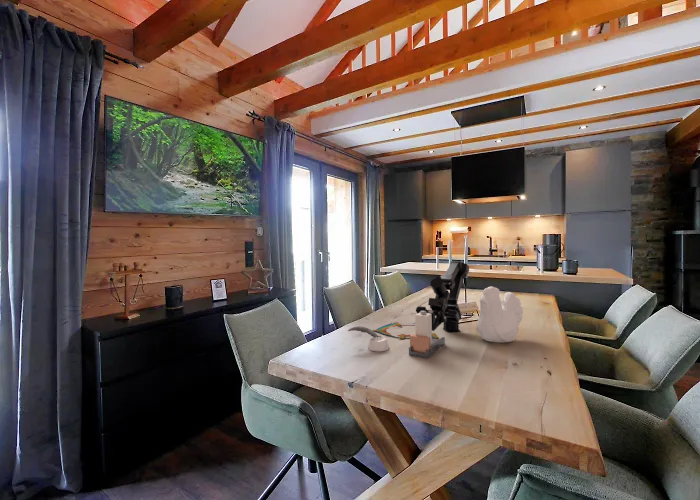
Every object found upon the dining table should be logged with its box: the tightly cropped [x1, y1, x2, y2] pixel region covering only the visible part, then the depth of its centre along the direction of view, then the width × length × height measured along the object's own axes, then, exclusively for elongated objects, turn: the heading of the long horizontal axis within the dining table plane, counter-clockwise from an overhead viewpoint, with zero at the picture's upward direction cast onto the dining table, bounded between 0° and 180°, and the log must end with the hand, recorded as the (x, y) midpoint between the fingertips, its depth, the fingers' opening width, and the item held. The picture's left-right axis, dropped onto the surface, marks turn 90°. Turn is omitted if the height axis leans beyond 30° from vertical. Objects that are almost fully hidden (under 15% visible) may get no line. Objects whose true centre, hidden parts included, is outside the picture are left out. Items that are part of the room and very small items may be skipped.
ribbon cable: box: [372, 321, 440, 340], centre depth 166 cm, size 29×1×30 cm
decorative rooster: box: [476, 286, 524, 343], centre depth 146 cm, size 25×16×25 cm, turn 103°
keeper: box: [414, 311, 433, 346], centre depth 134 cm, size 5×5×15 cm
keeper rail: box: [408, 334, 446, 359], centre depth 138 cm, size 20×8×8 cm, turn 145°
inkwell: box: [347, 325, 390, 353], centre depth 140 cm, size 9×18×10 cm, turn 101°
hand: (432, 330), depth 143 cm, fingers closed
